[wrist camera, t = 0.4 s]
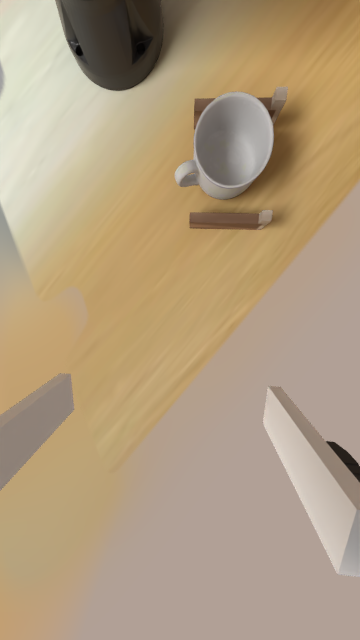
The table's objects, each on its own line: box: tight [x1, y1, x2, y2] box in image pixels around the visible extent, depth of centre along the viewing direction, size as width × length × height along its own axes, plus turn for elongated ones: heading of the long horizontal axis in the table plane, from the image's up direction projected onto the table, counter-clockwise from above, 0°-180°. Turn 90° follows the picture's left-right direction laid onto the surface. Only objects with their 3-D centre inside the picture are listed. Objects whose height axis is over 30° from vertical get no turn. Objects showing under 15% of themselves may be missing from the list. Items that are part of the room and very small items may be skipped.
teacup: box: [175, 92, 274, 200], centre depth 29 cm, size 14×11×8 cm
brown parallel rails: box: [190, 87, 288, 230], centre depth 30 cm, size 17×13×5 cm
